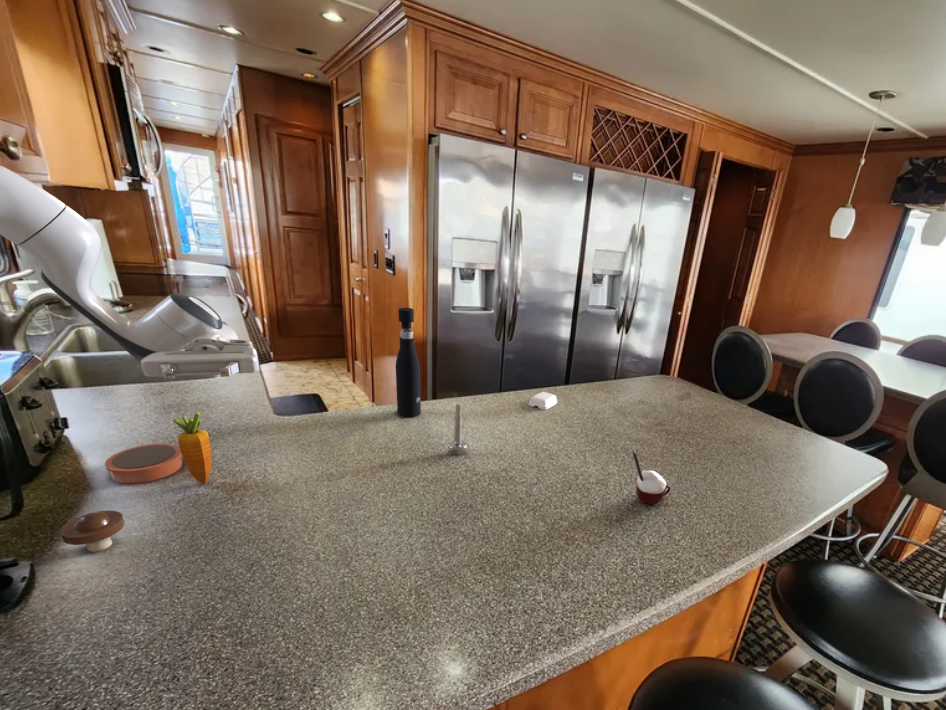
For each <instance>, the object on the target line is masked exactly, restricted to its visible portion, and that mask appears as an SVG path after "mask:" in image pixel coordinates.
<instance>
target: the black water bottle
mask: <svg viewBox="0 0 946 710" xmlns="http://www.w3.org/2000/svg"><path fill="white" fill-rule="evenodd" d="M397 311H398V313H397V314H398V322H399V323H401V330H400V331H399V334H400V335H399V336H400V337H399V349H398V352H397V354H396V360H395V384H396V409H397V410H396V411H397V412H396V413H397V415H398V416H399V417H402V418H407V419H409V418H416V417H418V416H420V415H421V414H422V406H421V405H422V402H421V401H422V400H421V399H422V398H421V364H420V360H419V356H418V353H417V350H416V348H415V337H414V331H413V330H412V329H413V328H412V323H414V322H415V313H414V311H415V310H414V308H410V307H399V308H398V310H397Z"/></svg>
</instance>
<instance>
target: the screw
mask: <svg viewBox="0 0 946 710" xmlns="http://www.w3.org/2000/svg"><path fill="white" fill-rule="evenodd" d="M453 418H454V419H453V424H454V425H453V429H454V430H453V439H452V440H451V441H449V442H447V448H448V449H450V450H452V454H453V455H457V456H459V455H463V454H464V450H466V449H467V448H468V445H469V444H468V443H467V442H466V441H465V440H462V439H463V437H462V432H463V431H462V430H463V429H462V428H463V424H462V423H463V422H462V421H463V415H462V406H461V404H459V403H456V404H455V412H454V416H453Z"/></svg>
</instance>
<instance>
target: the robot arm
mask: <svg viewBox="0 0 946 710" xmlns="http://www.w3.org/2000/svg"><path fill="white" fill-rule="evenodd" d="M0 236H2V237H3V238H5V239H7V240H8V241H9V242H11V243H13V244H14V245H16V246H17V247H19V248H21V249H22V250H24V252H26V253H27V254H28V255H30V256H31V257H32V259H34V261H35V262H36V263H37V265H38V266H39V268H40V269H41V272H40V277H41V279H42V280H43V282H44V283H45V284H46V285H47V286H48V287H49V288H50V289H51V290H52V291H53V292H54V293H55V294H56V295H58V297H60V298H61V299H62V300H63V301H65V302H66V303H67V304H68V305H69V306H71V307H72V308H73V309H75V310H76V311H77V312H78V313H80V314H81V315H83V316H84V317H85V318H86V319H88V320H89V321H90V322H92V323H93V324H94V325H95V326H97V328H99V329H100V330H102V331H103V332H104V333H106V334H107V335H108V336H109V337H110V338H112V339H113V340H114V341H115V342H116V343H118V344H119V346H121V348H123V349H124V351H126V352H127V353H128V354H129V355H130V356H132V357H133V358H134V359H136V360H137V361H139V362H140V366H141V371H142V374H143V375H144V376H145V377H148V378H157V377H158V378H159V377H160V378H161V377H162V378H163V380H174V379H175V378H176V377H184V376H209V377H215V376H216V377H217V376H220V377H221V378H227V377H231V375H235V374H254V373H258V372H259V371H260V363H259V357H258V351H257V349H256V348H255V347H254V344H253V342H252V341H250V340H243V339H242V340H241V339H240V338H239V335H238V334H237V332H236V331H235V330H234V328H232V327H231V326H229V325H227V324H225V323H223V320H222V317H221V316H220V315H219V313H218V312H216V310H214V309H213V308H212V307H211V306H210V305H209V304H208V303H207V302H205V301H203V300H202V299H200V298H199V297H197V296H194V295H191V294H184V293H179V292H177V293H170V294H169V295H168V296H167V297H166V298H164V299H163V300H161V301H160V302H159V303H157V304H156V305H155V306H154V307H153V308H152V309H150V310H149V311H148V312H147V313H146V314H144V315H143V316H141V317H140V318H139V319H137V320H136V321H132V320H128V319H127V318H125V316H123V315H122V314H121V313H120V312H118V311H117V310H116V309H115V308H114V307H112V306H111V305H110V304H109V303H107V302H106V301H105V300H104V299H103V298H102V297H100V295H98V294H97V293H96V292H95V290H94V289H93V287H92V277H93V275H94V272H95V269H96V267H97V265H98V263H99V260H100V258H101V252H102V240H101V238H100V235H99V233H98V231H97V230H96V228H95V227H94V225H92V224H91V223H90V222H89V221H88V220H87V219H86V218H84V217H83V216H82V215H80V214H79V213H77V211H75V210H73V208H71V207H70V206H68V205H66V204H65V203H64V202H62V201H61V200H60V199H58V198H57V197H56V196H54V195H53V194H51V193H49V192H48V191H47V190H45V189H43V188H41V187H40V186H38V185H37V184H35V183H33V182H32V181H30V180H28V179H27V178H25V177H23V176H22V175H20V174H18V173H16V172H14V171H12V170H11V169H9V168H8V167H5V166H2V165H0Z"/></svg>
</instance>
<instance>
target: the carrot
mask: <svg viewBox="0 0 946 710" xmlns="http://www.w3.org/2000/svg"><path fill="white" fill-rule="evenodd" d="M200 418H201V413H199V412H195V413H194V415H193V418H189V419H188V418H187V417H186V415H183V416H182V417H181V419H182V420H180V419H178V418H174V419H172V422H173V423H175V424H176V425H177V426H178V427H180V428H181V429H182V430H183V432H181V433H179V434H178V436H177V443H178V446H179V447H180V451H181V454H182V456H181V458H182V461H183V462H184V464H185V466H186V468H187V470H188V472H189V473H190V475H191V476H192V477H193V478H194V479H195V480H196V481H197V482H199V484H203V485H205V484H207V482H208V480H209V478H210V476H211V472H212V465H213V455H212V448H211V442H210V437H209V434H208V431H206V430H204V429H199V427H200V426H201V424H202V423H203V421H201V420H200Z"/></svg>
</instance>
